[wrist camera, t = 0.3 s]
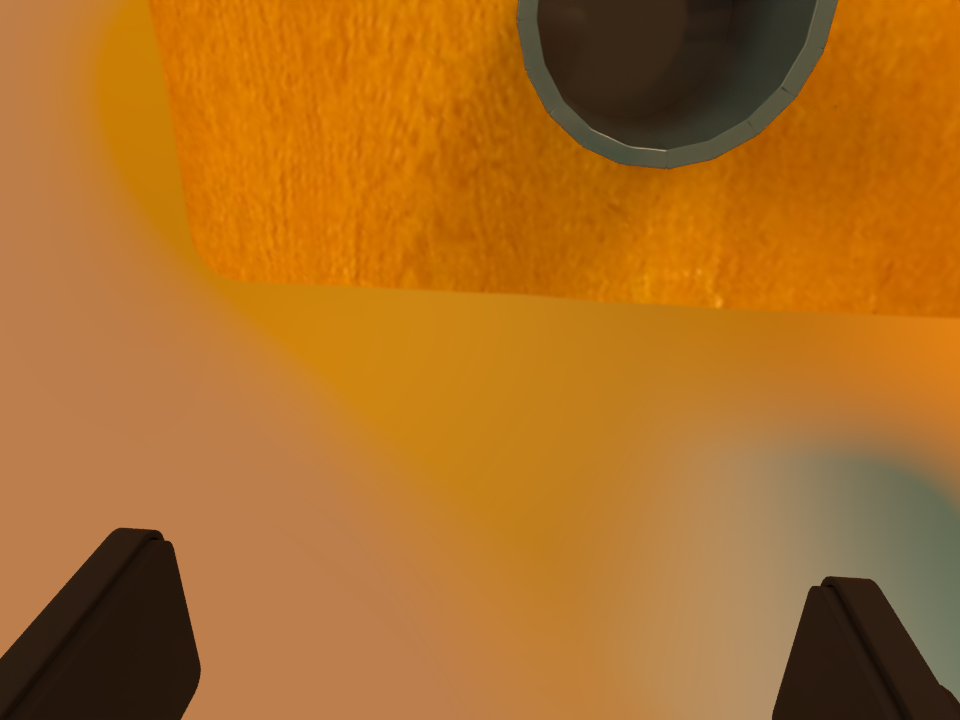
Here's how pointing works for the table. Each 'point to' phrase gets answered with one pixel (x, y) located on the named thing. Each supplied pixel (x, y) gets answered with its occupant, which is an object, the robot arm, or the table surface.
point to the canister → (669, 71)
